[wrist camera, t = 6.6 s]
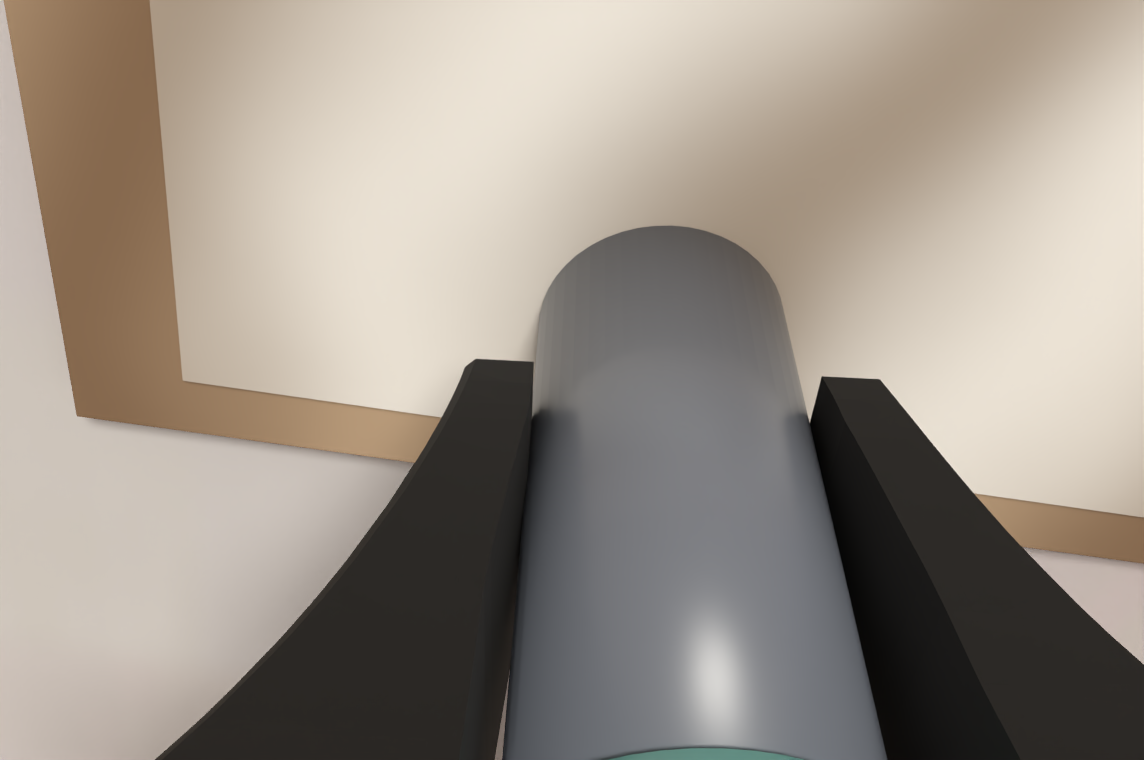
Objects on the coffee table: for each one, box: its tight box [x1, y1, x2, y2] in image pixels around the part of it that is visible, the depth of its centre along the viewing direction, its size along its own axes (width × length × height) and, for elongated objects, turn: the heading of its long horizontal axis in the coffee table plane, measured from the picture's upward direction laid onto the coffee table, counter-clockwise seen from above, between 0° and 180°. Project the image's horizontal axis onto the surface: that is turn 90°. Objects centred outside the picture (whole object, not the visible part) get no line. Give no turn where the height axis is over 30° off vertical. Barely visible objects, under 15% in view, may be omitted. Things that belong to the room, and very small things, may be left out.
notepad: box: [4, 0, 1144, 563], centre depth 12 cm, size 18×11×1 cm, turn 80°
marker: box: [502, 226, 887, 760], centre depth 10 cm, size 3×3×8 cm
